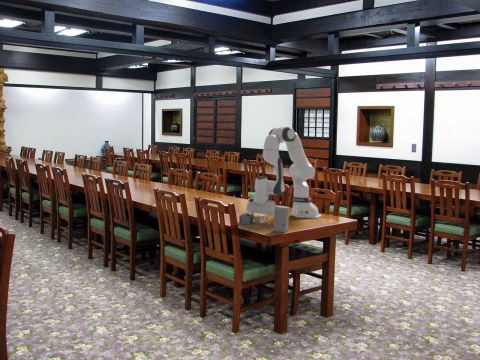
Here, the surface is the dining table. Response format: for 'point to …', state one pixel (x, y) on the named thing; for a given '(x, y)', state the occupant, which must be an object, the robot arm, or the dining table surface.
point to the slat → (260, 218)
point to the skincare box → (281, 218)
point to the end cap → (246, 218)
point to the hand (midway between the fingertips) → (260, 219)
